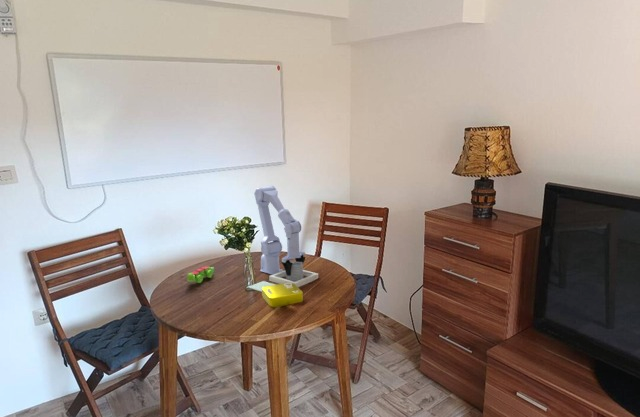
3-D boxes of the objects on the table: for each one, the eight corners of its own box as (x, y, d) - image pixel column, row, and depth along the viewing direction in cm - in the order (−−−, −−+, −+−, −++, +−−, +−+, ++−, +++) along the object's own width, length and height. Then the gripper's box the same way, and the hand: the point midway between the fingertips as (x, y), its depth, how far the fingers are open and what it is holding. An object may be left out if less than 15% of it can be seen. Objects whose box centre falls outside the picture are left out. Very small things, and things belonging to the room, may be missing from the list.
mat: (247, 287, 202) (247, 286, 202) (263, 281, 210) (263, 280, 210) (262, 292, 196) (262, 291, 196) (278, 286, 203) (278, 285, 203)
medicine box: (303, 278, 213) (302, 261, 212) (301, 281, 209) (300, 264, 207) (287, 277, 215) (287, 261, 213) (285, 280, 210) (284, 263, 209)
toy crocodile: (207, 272, 225) (207, 261, 224) (218, 273, 222) (217, 262, 221) (182, 285, 207) (181, 272, 206) (193, 286, 204) (192, 274, 203)
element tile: (261, 295, 193) (260, 285, 192) (292, 290, 199) (292, 280, 198) (270, 308, 179) (270, 297, 178) (304, 302, 185) (304, 291, 184)
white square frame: (269, 280, 211) (269, 276, 210) (293, 271, 223) (292, 267, 223) (295, 288, 200) (295, 283, 200) (318, 278, 213) (318, 273, 212)
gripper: (289, 250, 201) (289, 278, 203) (309, 244, 212) (309, 270, 214) (278, 248, 205) (279, 275, 207) (298, 242, 216) (299, 268, 219)
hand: (293, 273), depth 211 cm, fingers open, 7 cm apart
